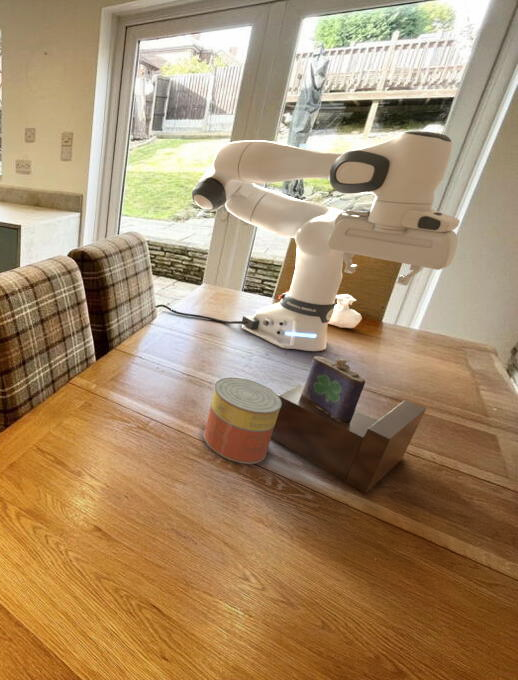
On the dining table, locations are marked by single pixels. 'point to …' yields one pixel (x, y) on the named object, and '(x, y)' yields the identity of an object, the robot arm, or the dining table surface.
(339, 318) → the white tied sack
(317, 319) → the robot arm
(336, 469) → the l-shaped brown block
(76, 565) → the dining table surface
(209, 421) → the canned food
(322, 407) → the flask
